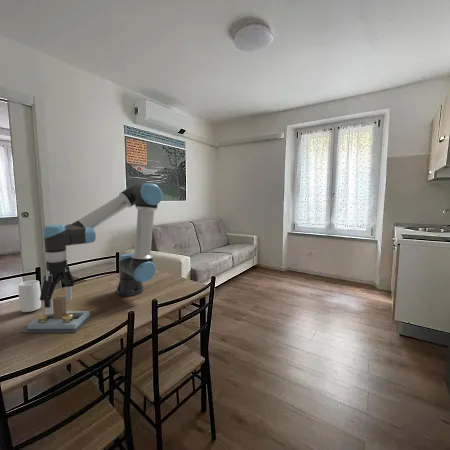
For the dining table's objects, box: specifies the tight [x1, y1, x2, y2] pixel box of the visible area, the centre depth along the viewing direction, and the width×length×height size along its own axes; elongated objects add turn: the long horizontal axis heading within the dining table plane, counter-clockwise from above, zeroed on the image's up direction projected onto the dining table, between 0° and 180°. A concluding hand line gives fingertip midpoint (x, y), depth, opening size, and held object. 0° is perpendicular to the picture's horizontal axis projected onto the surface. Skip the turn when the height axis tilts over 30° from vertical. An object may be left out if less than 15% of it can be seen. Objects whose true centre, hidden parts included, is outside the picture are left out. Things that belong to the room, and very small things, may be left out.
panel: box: [26, 296, 91, 329], centre depth 109 cm, size 12×20×11 cm, turn 92°
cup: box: [18, 279, 42, 313], centre depth 120 cm, size 8×8×14 cm
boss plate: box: [20, 312, 93, 334], centre depth 109 cm, size 22×14×5 cm, turn 92°
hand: (59, 306), depth 109 cm, fingers open, 13 cm apart
